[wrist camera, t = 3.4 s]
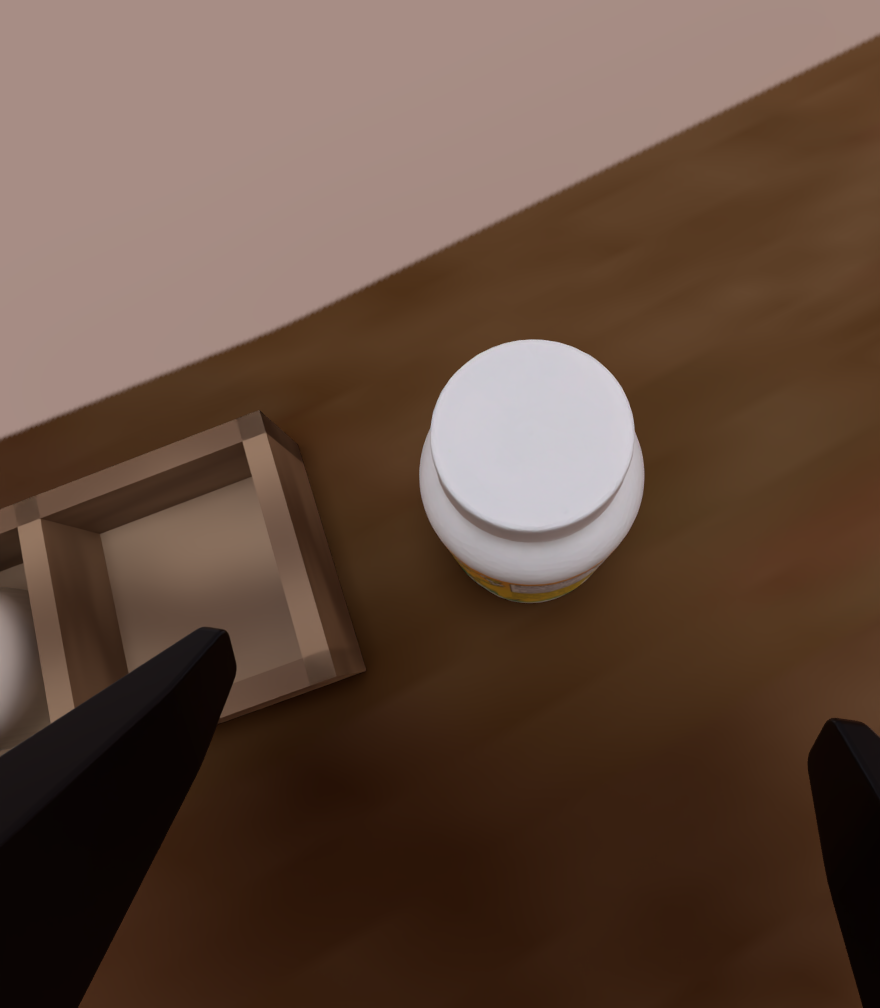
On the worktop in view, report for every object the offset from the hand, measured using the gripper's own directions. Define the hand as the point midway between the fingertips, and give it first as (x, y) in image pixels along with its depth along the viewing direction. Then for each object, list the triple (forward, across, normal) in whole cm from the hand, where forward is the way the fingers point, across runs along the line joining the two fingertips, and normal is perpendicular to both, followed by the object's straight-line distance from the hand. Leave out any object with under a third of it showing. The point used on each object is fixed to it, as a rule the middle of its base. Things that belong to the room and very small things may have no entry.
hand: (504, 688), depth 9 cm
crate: (+7, +14, +9) cm, 18 cm away
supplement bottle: (+11, 0, +5) cm, 12 cm away
